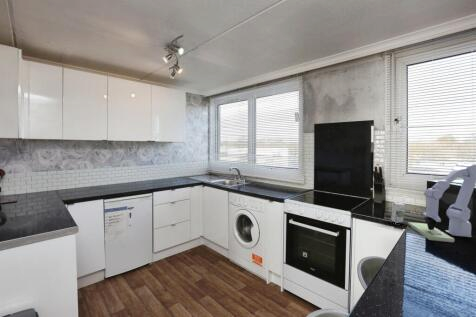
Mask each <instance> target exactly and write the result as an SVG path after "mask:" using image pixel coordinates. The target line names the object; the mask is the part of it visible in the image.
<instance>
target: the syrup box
mask: <svg viewBox="0 0 476 317" xmlns="http://www.w3.org/2000/svg"><path fill="white" fill-rule="evenodd" d="M405 211H406V204H404V203H403V202H396V201H395V202H394V201H393V202H391V210H390V221H391V220H392V221H394V222H395V224H394V225H397V224H396V223H398V222H405Z"/></svg>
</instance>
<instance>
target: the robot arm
mask: <svg viewBox="0 0 476 317" xmlns="http://www.w3.org/2000/svg"><path fill="white" fill-rule="evenodd" d="M459 177H461V178H462V179H463V181H462V183H461V187H460V189H459V192H458V194H457V196H456V197H457V198H456V200H455V203H453V204H450V205H449V207H448V209H447V210H446V216H447V217H448V219H449V223H448V224H449V225H448V230H447V229H446V230H444V231H445V233H448V234H451V236H456V237H467V238H472V223H471V222H470V218H471V212H472V210H471V209H470V208H469V207H468V205H469V203H470V200H471V197H472V195H473V192H474V189H475V186H476V164H467V163H466V164H465V163H457V164H455V165H454V166H453V167H452V171H450V172H449V174H448V175H447V176H446V177H445V178H444V179H440V180H437V182H436V183H435V184H434V185H433V186H432V187H431V188H429V187H428V188H427V189H426V190H425V192H424V196H425V200H426V206H425V207H426V208H425V211H423V213H422V214H423V216H424V220H425V221H426V224H427V226H428V229H429V230H434V227H435V228H436V225H437V223H441V222H442V218H440V216H439V206H440V205H439V204H440V203H439V201H440V199H441V198H443V194H444V192H445V191H447V189H449V188H450V186H451V183H452V182H454V181H455V180H457V179H458V178H459Z"/></svg>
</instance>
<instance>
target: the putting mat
mask: <svg viewBox="0 0 476 317" xmlns="http://www.w3.org/2000/svg"><path fill="white" fill-rule="evenodd" d="M408 224H409V225H410V226H411V227H410V226H409V225H408V226H409V227H410V228H411V229H413V230H414V231H416V232H418V233H419V234H421V236H423V237H424V238H426V239H427V240H428V241H436V242H437V241H438V242H447V243H455V238H454V237H452V236H450V235H448V234H447V233H446V232H444V231H442V230H440V229H438V228H436V226H435V227H434V229H435V230H438V231H439V233H440V234H439V235H433V234H431V231H432V230H429V229H428V226H427V223H423V222H422V223H421V222H410V221H408Z"/></svg>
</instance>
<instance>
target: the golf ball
mask: <svg viewBox="0 0 476 317" xmlns="http://www.w3.org/2000/svg"><path fill="white" fill-rule="evenodd" d="M438 230H439V229H438ZM438 230H435V229H434V230H432V231H431V234H433V235H439V234H440V233H439V231H438Z"/></svg>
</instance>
